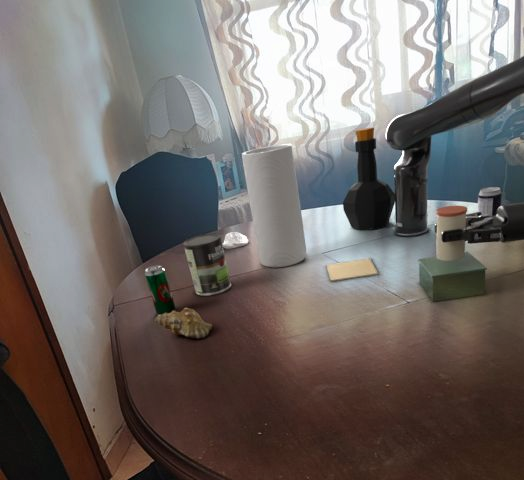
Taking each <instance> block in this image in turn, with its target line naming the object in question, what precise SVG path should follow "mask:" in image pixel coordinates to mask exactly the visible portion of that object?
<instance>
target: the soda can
mask: <svg viewBox="0 0 524 480" xmlns="http://www.w3.org/2000/svg"><path fill="white" fill-rule="evenodd" d="M144 278H145V281H146V284H147V287H148V291H149V294H150V296H151V301H152V304H153V306H154V309H155V313H156V315H160V314H164V313H171V312H172V311H173V310H174V311H176V308H177V307H176V304H175V302H174V301H175V300H174V297H173V294H172V291H171V286H170V283H169V280H168V277H167V273H166V270H165V268H163V265H161V264H159V265H152V266H149V267H147V268H145V270H144Z"/></svg>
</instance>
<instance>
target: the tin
mask: <svg viewBox="0 0 524 480" xmlns="http://www.w3.org/2000/svg"><path fill="white" fill-rule="evenodd" d="M417 261H418V263H419V266H418V267H419V269H418V270H419V271H418V273H419V279H418V280H419V281H418V282H419V285H420V287H421V288H422V289H423V291H424V292H425V293H426V295H427V296H428V297H429V298H430V300H431V301H432V302H433V303H434V302H440V301H447V300H456V299H462V298H470V297H476V296H483V295H485V284H486V271H487V270H488V267H487V266H485V265H484V264H483V263H482V262H481V261H480V260H478V259H477V258H476V257H475V256H474V255H473V254H471V253H470V252H469V251H465V256H464V257H463V258H461V259H458V260H453V261H444V260H439V259H438V258H437V257H436V256H431V257H430V256H429V257H425V258H424V257H423V258H418V259H417Z"/></svg>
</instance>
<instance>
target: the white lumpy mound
mask: <svg viewBox="0 0 524 480" xmlns="http://www.w3.org/2000/svg"><path fill="white" fill-rule="evenodd" d="M248 243H249V239H248V237H247V236H246V235H243V234H242V233H241V232H238V231H231V232H228V233H226V234H225V236H224V240H223V242H222V245H223V249H234V248H235V249H236V248H240V247H244V246H246V245H248Z"/></svg>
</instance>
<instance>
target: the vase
mask: <svg viewBox="0 0 524 480" xmlns="http://www.w3.org/2000/svg"><path fill="white" fill-rule="evenodd" d="M241 158H242V164H243V165H242V166H243V170H244V176H245V183H246V190H247V195H248V200H249V201H248V202H249V206H250V213H251V219H252V224H253V231H254V236H255V242H256V247H257V248H256V249H257V254H258V257H259V261H260V264H261V265H263V266H264V267H266V268H273V269H274V268H276V269H277V268H286V267H289V266H293V265H297V264H299V263H301V262H303V260H305V258H306V257H307V245H306V237H305V230H304V229H305V228H304V222H303V216H302V215H303V214H302V207H301V200H300V193H299V184H298V178H297V171H296V170H297V169H296V164H295V157H294V149H293V144H292V143H281V144H272V145H268V146H262V147H258V148H254V149H250V150H247V151H243V152H242V153H241Z"/></svg>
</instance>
